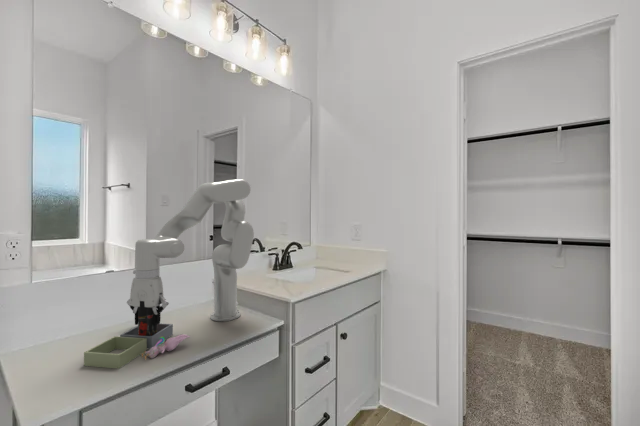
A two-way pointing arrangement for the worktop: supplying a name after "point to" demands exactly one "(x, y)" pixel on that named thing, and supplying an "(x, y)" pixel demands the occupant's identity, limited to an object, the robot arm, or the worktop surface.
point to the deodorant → (145, 321)
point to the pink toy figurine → (165, 345)
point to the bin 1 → (103, 358)
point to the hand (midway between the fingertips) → (147, 323)
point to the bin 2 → (162, 331)
